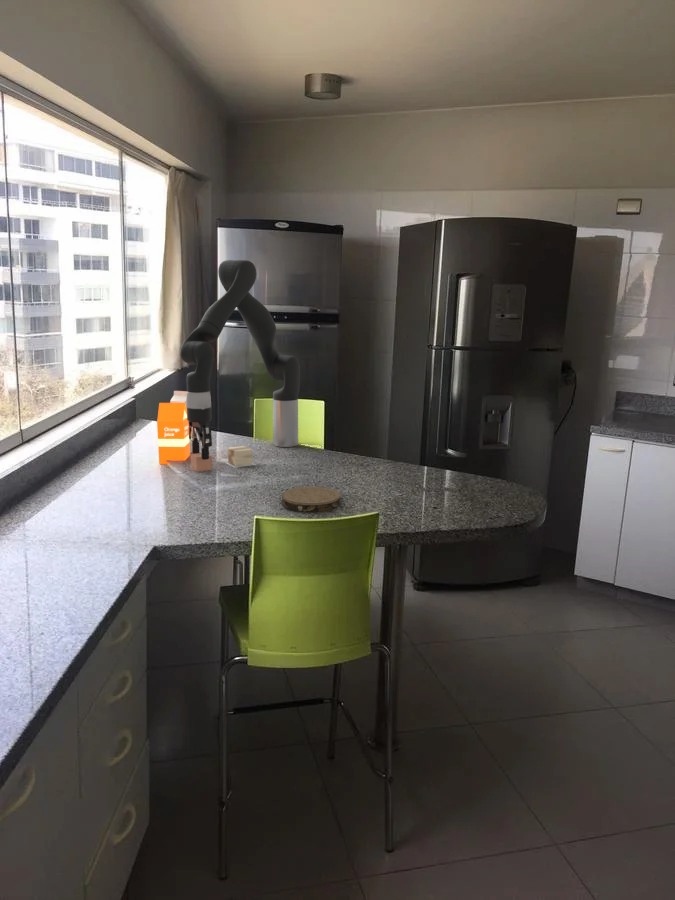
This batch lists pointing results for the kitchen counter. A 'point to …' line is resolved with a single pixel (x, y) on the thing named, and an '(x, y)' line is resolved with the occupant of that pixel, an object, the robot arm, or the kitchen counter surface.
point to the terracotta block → (200, 463)
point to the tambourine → (311, 499)
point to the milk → (181, 398)
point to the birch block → (240, 456)
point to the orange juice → (173, 432)
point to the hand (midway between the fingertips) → (200, 456)
